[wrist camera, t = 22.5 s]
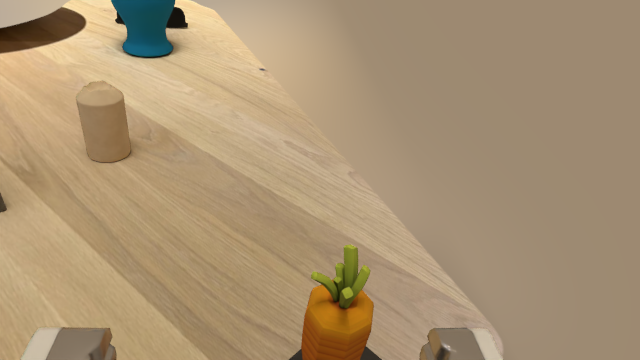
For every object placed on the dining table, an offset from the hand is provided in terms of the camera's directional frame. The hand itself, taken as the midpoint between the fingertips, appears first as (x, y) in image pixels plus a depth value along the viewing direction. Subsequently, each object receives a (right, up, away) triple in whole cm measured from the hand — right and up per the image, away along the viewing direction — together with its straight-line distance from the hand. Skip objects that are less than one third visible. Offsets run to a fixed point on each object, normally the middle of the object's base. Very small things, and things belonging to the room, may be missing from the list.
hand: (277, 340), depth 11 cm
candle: (-28, +8, +49) cm, 57 cm away
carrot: (+1, -13, +25) cm, 28 cm away
